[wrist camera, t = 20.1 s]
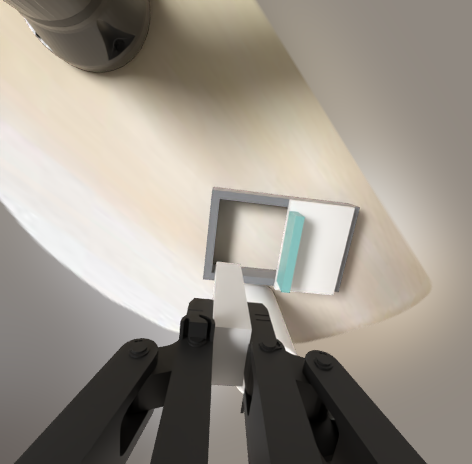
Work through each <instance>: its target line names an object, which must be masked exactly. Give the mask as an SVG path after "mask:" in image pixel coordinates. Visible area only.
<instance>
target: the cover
mask: <svg viewBox="0 0 472 464" xmlns="http://www.w3.org/2000/svg"><path fill="white" fill-rule="evenodd" d="M354 210H355V208H353V207H349V206H341V205H333V204H324V203H316V202H308V201H300V200H292V199H290V200H289V205H288V211H287V216H286V222H285V227H284V233H283V238H282V244H281V249H280V255H279V260H278V266H277V271H276V277H275V282H274V289H275V290H281V292H286V293H290V291H293V292H304V293H315V294H326V295H333V294H334V290H335V286H336V282H337V278H338V274H339V270H340V266H341V262H342V258H343V254H344V250H345V246H346V242H347V238H348V234H349V230H350V226H351V222H352V218H353V214H354Z"/></svg>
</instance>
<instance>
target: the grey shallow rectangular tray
mask: <svg viewBox="0 0 472 464" xmlns="http://www.w3.org/2000/svg"><path fill="white" fill-rule="evenodd" d="M220 199H225V200H233V201H241V202H250V203H258V204H266V205H275V206H283V207H288V205H289V200H290V199H292V200H300V201H308V202H316V203H324V204H333V205H341V206H349V207H353V208H355V210H354V214H353V218H352V222H351V226H350V230H349V234H348V238H347V242H346V246H345V250H344V254H343V258H342V262H341V266H340V270H339V274H338V278H337V282H336V286H335V290H334V292H339V288H340V284H341V280H342V276H343V272H344V268H345V264H346V260H347V256H348V252H349V248H350V244H351V240H352V236H353V232H354V229H355V225H356V221H357V217H358V213H359V209H360V207H357V206H354V205H351V204H348V203H340V202H332V201H324V200H316V199H307V198H299V197H291V196H283V195H275V194H267V193H259V192H251V191H242V190H234V189H226V188H218V187H213V189H212V198H211V207H210V217H209V227H208V236H207V246H206V256H205V266H204V275H203V279H206V280H215V272H216V264H213V256H214V247H215V238H216V229H217V220H218V211H219V202H220ZM241 270H242V275H243V281H244V283H248V284H259V285H269V286H274V282H275V277H276V271H277V270H268V269H258V268H248V267H241Z"/></svg>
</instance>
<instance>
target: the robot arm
mask: <svg viewBox="0 0 472 464" xmlns="http://www.w3.org/2000/svg"><path fill="white" fill-rule="evenodd" d="M3 1H5V2H6V3H8V4H9V5H11V6H12V7H14V8H15V9H17V10H18V11H19V13H20V14H21V15H22V16H23V17H24V18H25V20H26V22H27V24H28V26H29V27H30V29H31V30H32V32H33V33H34V34H35V36H36V37H37V38H38V39H39V40H40V42H41V43H42V44H43V45H44V46H45V47H46V48H48V49H49V50H50V51H51V52H52V53H54V54H55V55H56V56H58V57H59V58H61V59H63V60H64V61H66V62H67V63H69V64H71V65H73V66H75V67H77V68H80V69H83V70H86V71H91V72H107V71H112V70H115V69H117V68H120V67H122V66H124V65H125V64H127V63H128V62H129V61H130V60H132V59H133V58H134V57H135V55H136V54H137V53H138V52H139V50H140V49H141V47H142V45H143V43H144V41H145V39H146V36H147V32H148V28H149V22H150V4H149V0H3ZM243 380H244V382H245V389H244V395H243V401H242V408H241V413H243V412H245V413H244V414H245V426H246V438H247V450H248V461H249V464H426V462H425V461H424V460H423V459H422V458H421V457H420V455H419V454H418V453H417V452H416V451H415V450H414V448H413V447H412V446H411V445H410V444H409V443H408V442H407V441H406V439H405V438H404V437H403V436H402V435H401V433H400V432H399V431H398V430H397V429H396V428H395V426H394V425H393V424H392V423H391V422H390V421H389V420H388V418H387V417H386V416H385V415H384V414H383V413H382V411H381V410H380V409H379V408H378V407H377V406H376V405H375V404H374V402H373V401H372V400H371V399H370V398H369V396H368V395H367V394H366V393H365V392H364V391H363V389H362V388H361V387H360V386H359V385H358V384H357V382H355V380H354V379H353V378H352V377H351V376H350V375H349V373H348V372H347V371H346V370H345V369H344V367H343V366H342V365H341V364H340V363H339V362H338V361H337V360H336V359H335V358H334V357H333V356H331V355H330V354H328V353H326V352H322V351H318V350H313V351H310V352H308V353H307V354H306V356H305V358H303V357H300V356H297V355H294V354H291V353H289V352H287V351H286V350H285V347H284V345H283V344H282V342H280V341H279V340H278V339H276V335H275V332H274V329H273V325H272V322H271V319H270V316H269V312H268V309H267V308H266V307H265V306H264V305H263V304H262V303H253V302H247V299H246V293H245V287H244V281H243V275H242V270H241V264H235V263H225V262H217V263H216V272H215V280H214V289H213V298H212V300H211V299H200V298H194V299H193V300H192V301H191V302H190V303H189V306H188V311H187V315H186V316H184V317H183V318H182V320H181V323H180V335H179V340H178V341H177V342H175V343H173V344H171V345H168V346H164V347H158V346H157V344H156V343H155V342H154V341H152V340H149V339H144V338H140V339H134V340H131V341H129V342H127V343H125V344H124V345H123V346H122V347H121V348H120V349H119V350H118V351H117V352H116V353H115V354H114V356H113V357H112V358H111V359H110V360H109V361H108V362H107V363H106V364H105V365H104V366H103V367H102V369H101V370H100V371H99V372H98V373H97V374H96V375H95V376H94V377H93V378H92V379H91V380H90V382H89V383H88V384H87V385H86V386H85V387H84V388H83V389H82V390H81V391H80V392H79V394H78V395H77V396H76V397H75V398H74V399H73V400H72V401H71V402H70V404H68V405H67V407H66V408H65V409H64V410H63V411H62V412H61V413H60V414H59V415H58V417H56V419H55V420H54V421H53V422H52V423H51V424H50V425H49V426H48V427H47V428H46V430H45V431H44V432H43V433H42V434H41V435H40V436H39V437H38V438H37V439H36V440H35V441H34V443H33V444H32V445H31V446H30V447H29V448H28V449H27V450H26V451H25V452H24V453H23V455H22V456H21V457H20V458H19V459H18V460H17V461H16V462H15V463H14V464H125V463H126V461H127V460H128V458H129V456H130V454H131V452H132V450H133V448H134V447H135V445H136V443H137V441H138V439H139V437H140V436H141V434H142V432H143V430H144V428H145V427H146V424H147V423H148V421H149V419H150V417H151V416H152V414H153V411H154V409H155V408H159V407H163V406H164V407H163V411H162V416H161V420H160V424H159V428H158V432H157V437H156V441H155V445H154V450H153V454H152V459H151V463H150V464H208V448H209V425H210V403H211V385H227V386H243Z"/></svg>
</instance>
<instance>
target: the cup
mask: <svg viewBox="0 0 472 464" xmlns="http://www.w3.org/2000/svg"><path fill="white" fill-rule="evenodd" d="M244 287H245V293H246V299H247V302H253V303H262V304H263V305H264V306H265V307H266V308H267V309H268V312H269V316H270V319H271V322H272V325H273V329H274V332H275V335H276V339H278V340H279V341H280V342H282V344H283V345H284V347H285V350H286V351H287V352H289V353H291V354H294V355H297V353H296V351H295V348H294V345H293V342H292V340H291V337H290V335H289V332H288V329H287V327H286V324H285V321H284V319H283V316H282V314H281V311H280V308H279V306H278V303H277V300H276V298H275V295H274V293H273V291H272V290H271V289H270V288H269V287H268V286H266V285H259V284H248V283H245V284H244ZM237 387H238V389H239V390H240V391H241V392H242V393H243V394H244V389H245V382H244V380H243V386H237Z"/></svg>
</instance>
